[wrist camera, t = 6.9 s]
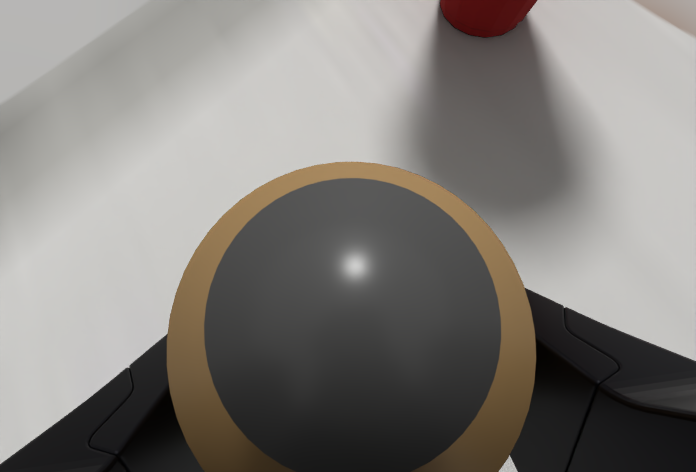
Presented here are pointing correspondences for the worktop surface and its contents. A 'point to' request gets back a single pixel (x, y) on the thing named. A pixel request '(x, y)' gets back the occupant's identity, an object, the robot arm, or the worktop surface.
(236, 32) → the worktop surface
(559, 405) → the robot arm
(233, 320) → the bottle
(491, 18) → the plastic cup
